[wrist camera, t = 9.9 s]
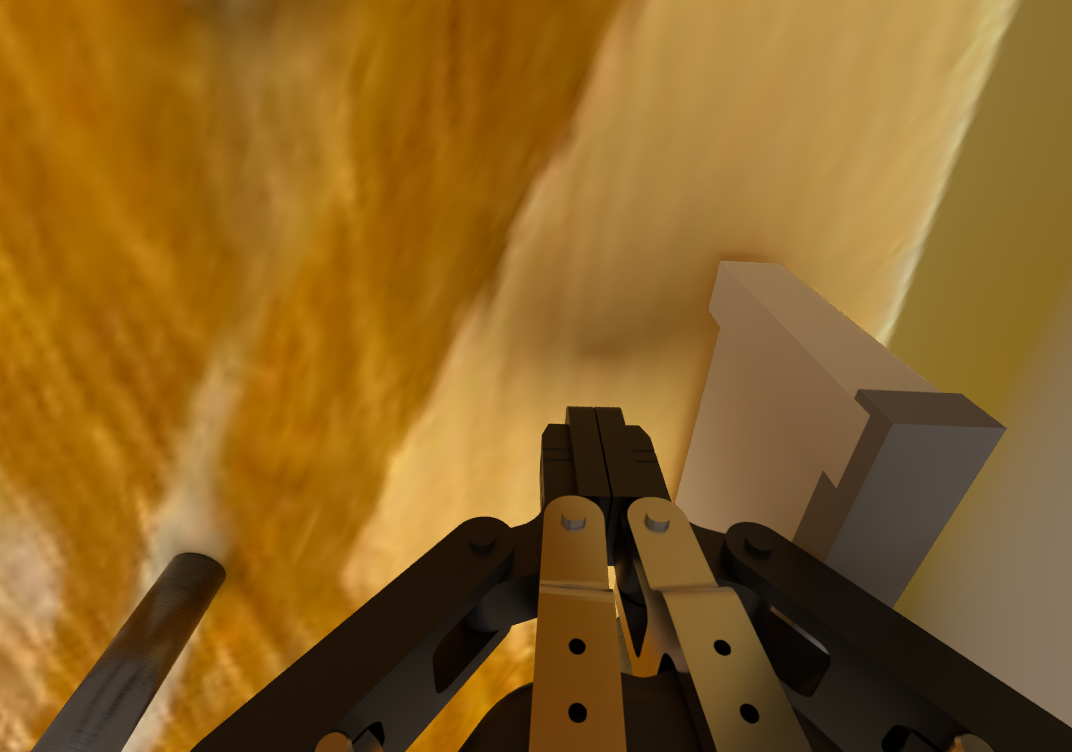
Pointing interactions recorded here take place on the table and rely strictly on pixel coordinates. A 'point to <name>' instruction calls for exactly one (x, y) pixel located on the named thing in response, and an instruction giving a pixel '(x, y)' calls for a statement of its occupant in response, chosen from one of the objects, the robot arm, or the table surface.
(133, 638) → the gate frame
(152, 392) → the table surface
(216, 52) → the table surface
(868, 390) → the panel
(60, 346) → the table surface
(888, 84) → the table surface
